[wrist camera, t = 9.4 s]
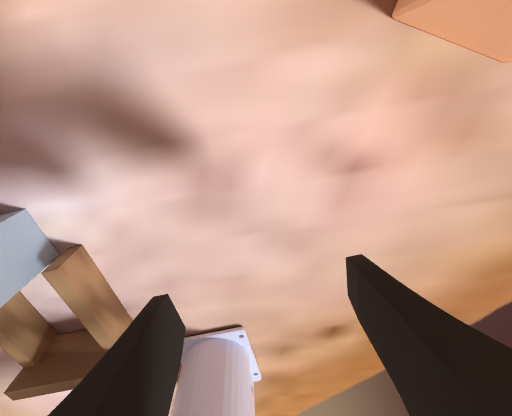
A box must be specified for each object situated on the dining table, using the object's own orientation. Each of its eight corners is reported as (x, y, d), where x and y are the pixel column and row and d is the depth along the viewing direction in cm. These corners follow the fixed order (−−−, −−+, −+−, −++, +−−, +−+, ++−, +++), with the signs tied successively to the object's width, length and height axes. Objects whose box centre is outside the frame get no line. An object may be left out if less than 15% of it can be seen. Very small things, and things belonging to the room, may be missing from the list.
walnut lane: (137, 327, 24) (113, 381, 20) (54, 344, 25) (13, 400, 20) (82, 245, 20) (34, 290, 15) (-19, 267, 20) (-94, 318, 16)
